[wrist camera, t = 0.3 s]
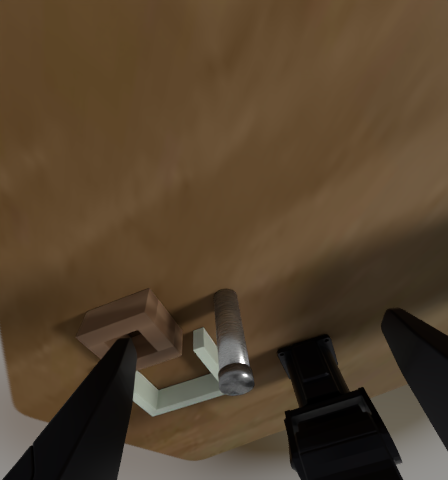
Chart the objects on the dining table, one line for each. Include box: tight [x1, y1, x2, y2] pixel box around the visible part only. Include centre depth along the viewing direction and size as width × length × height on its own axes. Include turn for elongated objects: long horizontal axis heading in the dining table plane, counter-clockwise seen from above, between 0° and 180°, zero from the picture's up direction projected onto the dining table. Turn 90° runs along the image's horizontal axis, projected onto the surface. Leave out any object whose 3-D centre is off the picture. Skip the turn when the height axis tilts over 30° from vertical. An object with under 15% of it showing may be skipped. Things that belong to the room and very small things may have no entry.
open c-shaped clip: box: [133, 327, 225, 416], centre depth 32 cm, size 10×11×2 cm
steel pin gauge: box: [214, 289, 254, 396], centre depth 23 cm, size 3×3×9 cm
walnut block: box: [75, 288, 183, 371], centre depth 27 cm, size 7×7×3 cm
